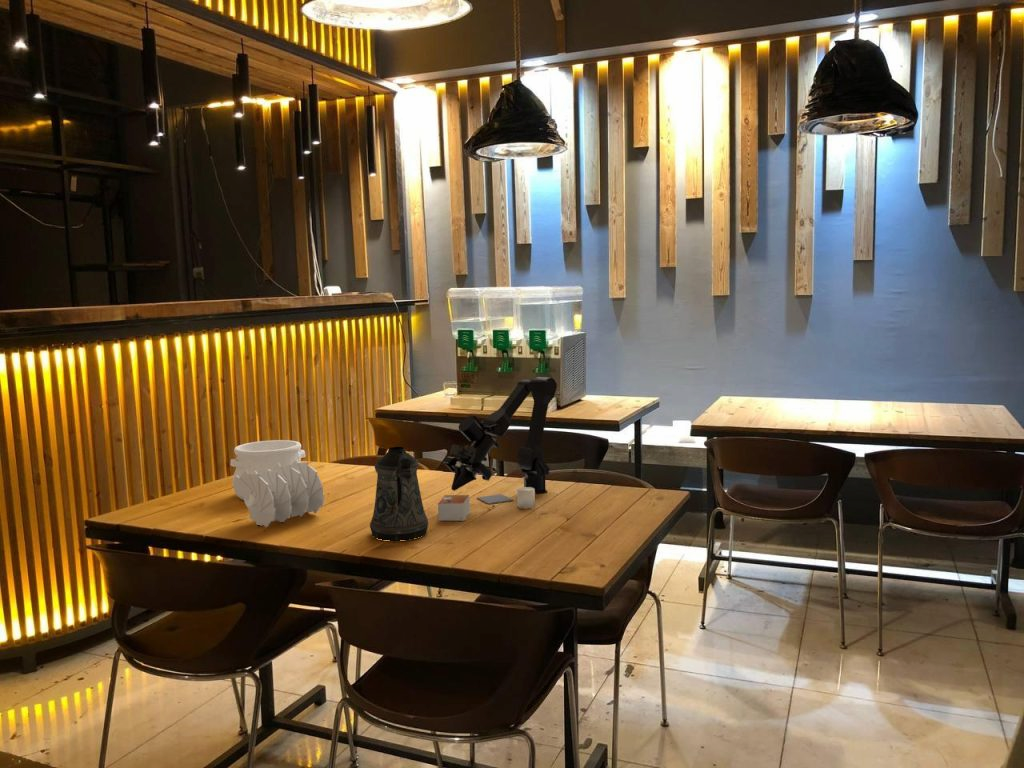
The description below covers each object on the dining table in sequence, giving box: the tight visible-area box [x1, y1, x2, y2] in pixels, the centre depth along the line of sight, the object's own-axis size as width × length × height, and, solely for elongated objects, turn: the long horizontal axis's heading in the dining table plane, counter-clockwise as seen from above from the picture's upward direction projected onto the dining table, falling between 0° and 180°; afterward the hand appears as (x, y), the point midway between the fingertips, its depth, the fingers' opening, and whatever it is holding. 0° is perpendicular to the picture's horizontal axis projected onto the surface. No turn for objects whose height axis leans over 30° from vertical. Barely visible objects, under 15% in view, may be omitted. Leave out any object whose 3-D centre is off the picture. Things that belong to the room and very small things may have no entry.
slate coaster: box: [476, 493, 514, 505], centre depth 272 cm, size 9×9×1 cm
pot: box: [230, 439, 306, 501], centre depth 286 cm, size 26×24×18 cm
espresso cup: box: [516, 486, 536, 510], centre depth 264 cm, size 6×8×6 cm
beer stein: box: [369, 446, 429, 541], centre depth 234 cm, size 16×19×25 cm
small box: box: [437, 494, 471, 522], centre depth 253 cm, size 8×6×10 cm
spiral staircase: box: [232, 460, 325, 528], centre depth 253 cm, size 18×18×25 cm
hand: (452, 489), depth 259 cm, fingers closed
